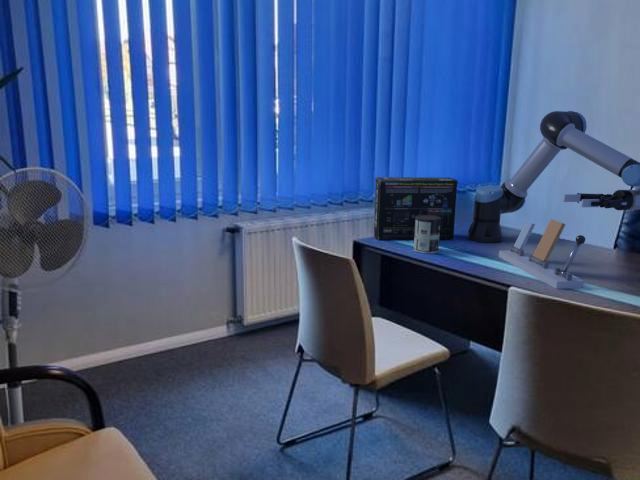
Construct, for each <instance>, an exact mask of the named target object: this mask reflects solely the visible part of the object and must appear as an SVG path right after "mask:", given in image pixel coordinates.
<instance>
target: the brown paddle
mask: <svg viewBox="0 0 640 480" xmlns="http://www.w3.org/2000/svg"><path fill="white" fill-rule="evenodd" d="M565 227H566V223H563V222H561V221H558V220H554V219H552V218H551V219H550V220H549V223H548V224H547V226H546V228H545V230H544V232H543V234H542V237H541V238H540V240H539V243H538V244H537V246H536V248H535V251H534V252H533V254H532V255H533V256H532V257H531V258H530V259H531V260H532V261H534V262H535V263H537V264H539V265H541V266H543V262H548V260H549V258H550V256H551V254H552V253H553V250H554V249H555V247H556V245H557V243H558V241H559V238H560V236H561V235H562V233H563V231H564V228H565Z"/></svg>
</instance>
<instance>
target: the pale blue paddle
mask: <svg viewBox="0 0 640 480" xmlns="http://www.w3.org/2000/svg"><path fill="white" fill-rule="evenodd" d="M535 226H536V224H535V223H532V222H530V221H527V220H526V221H525V222H524V224H523V226H522V229H521V231H520V233H519V235H518V237H517V238H516V241H515V243H514V247H512V251H514V252H516V253H518V254H519V250H524V248H525V246H526V244H527V242H528V240H529V238H530V237H531V236H530V235H531V234H532V232H533V230H534V228H535Z"/></svg>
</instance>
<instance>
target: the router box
mask: <svg viewBox="0 0 640 480" xmlns="http://www.w3.org/2000/svg"><path fill="white" fill-rule="evenodd" d="M458 183H459V180H458V179H456V178H452V177H426V176H425V177H418V176H417V177H416V176H415V177H413V176H412V177H409V176H408V177H405V176H404V177H403V176H400V177H398V176H395V177H391V176H390V177H388V176H387V177H385V176H383V177H375V188H374V189H375V190H374V195H375V196H374V217H373V220H374V221H373V237H374V239H376V240H378V241H412V240H413V241H414V237H415V221H416V218H415V216H417V215H435V216H439V217H441V222H440V235H439V241H440V240H442V241H443V240H447V241H448V240H450V241H451V240H454V234H455V221H456V220H455V218H456V206H457V192H458V191H457V190H458Z"/></svg>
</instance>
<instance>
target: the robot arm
mask: <svg viewBox="0 0 640 480" xmlns="http://www.w3.org/2000/svg"><path fill="white" fill-rule="evenodd" d="M539 130H540V134H541V136H542V137H543V138H542V140H541V141H540V142H539V143H538V145H536V147H535V148H534V149H533V150H532V152H531V153H530V154H529V155H528V157H527V158H526V160H525V161H524V162H523V163H522V164H521V166H520V167H519V168H518V170H517V171H516V172H515V173H514V175H512V177H511V178H507V179H505V181H504V182H502V184H501V186H499V185H483V186H479V187H478V188H477V189H476V190H475V193H474V202H473V204H474V205H473V215H472V222H471V224H470V226H469V228H468V231H467V239H469V240H471V241H475V242H479V243H499V242H502V241H503V232H502V227H501V215H504V214H509V213H510V214H511V213H514V212H517V211H519V210H521V209H522V208H523V207H524V206H525V203H526V198H527V196H528V190H529V189H530V188H531V186H533V184H534V183H535V181H536V180H537V179H538V178H539V177H540V175H541V174H542V173H543V172H544V171H545V169H546V168H547V167H548V166H549V165H550V163H552V161H553V160H554V158H555V157H556V156H557V155H558V154H559V153H560V152H561V151H563V150H567V149H569V150H570V151H573V152H574V153H575V154H577V155H580V156H582V157H583V158H585V159H587V160H588V161H590V162H593V163H594V164H596V165H597V166H599V167H601V168H603V169H604V170H606V171H608V172H610V173H611V174H614V175H616V176H617V177H619V178H621V180H622V181H623V183H624V184H625V185H627V186H628V187H634V188H635V187H640V162H639V161H637V160H635V159H633V158H632V157H630V156H628V155H626V154H625V153H622V152H621V151H619V150H617V149H615V148H613V147H611V146H610V145H608V144H606V143H604V142H603V141H600V140H598V139H596V138H595V137H593V136H591V135H589V134H587V133H586V131H587V121H586V117H584V115H583V114H581V113H580V112H577V111H573V110H567V111H566V110H565V111H562V110H555V111H550V112H549V113H546V114H545V116H544V117H543V118H541V121H540V124H539ZM562 202H563V203H577V204H580V207H581V208H602V209H603V208H604V209H611V208H612V209H615V210H616V211H630V212H634V211H640V189H617V190H615V191H614V192H613V194H612V193H611V194H610V193H605V194H603V193H582V192H581V193H579V192H577V193H576V194H574V193H571V194H563V199H562ZM580 202H581V203H580Z"/></svg>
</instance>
